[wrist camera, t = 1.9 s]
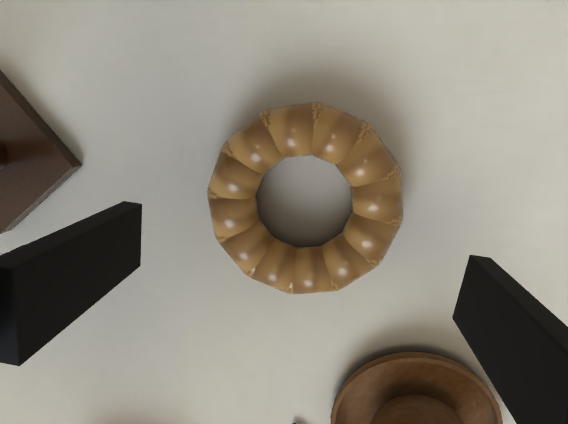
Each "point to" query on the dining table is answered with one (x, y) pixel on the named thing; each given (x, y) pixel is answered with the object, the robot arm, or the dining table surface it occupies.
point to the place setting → (414, 393)
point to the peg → (27, 158)
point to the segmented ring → (325, 145)
